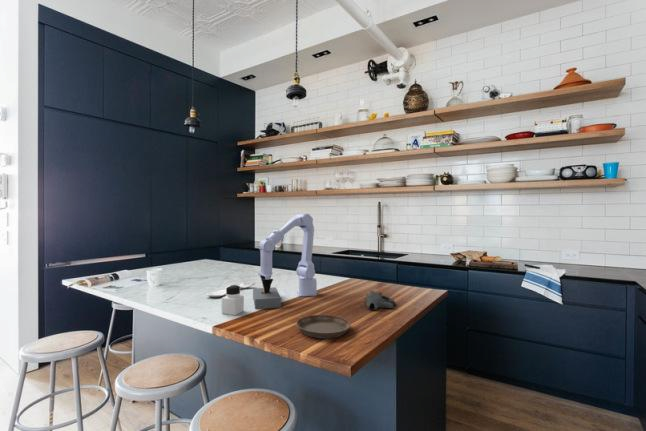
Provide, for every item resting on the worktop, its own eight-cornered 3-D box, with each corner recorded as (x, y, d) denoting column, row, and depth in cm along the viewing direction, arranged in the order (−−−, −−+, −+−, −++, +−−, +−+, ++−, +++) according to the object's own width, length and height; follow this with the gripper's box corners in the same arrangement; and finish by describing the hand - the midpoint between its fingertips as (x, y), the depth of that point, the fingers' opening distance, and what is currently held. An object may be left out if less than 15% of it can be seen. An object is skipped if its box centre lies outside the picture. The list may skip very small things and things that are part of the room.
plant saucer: (347, 322, 141) (347, 314, 141) (353, 341, 121) (353, 332, 121) (297, 322, 141) (297, 314, 141) (295, 341, 120) (295, 332, 120)
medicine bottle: (244, 311, 155) (244, 284, 154) (235, 315, 148) (235, 288, 148) (230, 309, 157) (230, 283, 157) (221, 313, 150) (221, 286, 150)
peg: (269, 300, 172) (269, 283, 172) (269, 302, 169) (269, 284, 169) (263, 301, 171) (263, 283, 171) (263, 302, 168) (263, 284, 168)
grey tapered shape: (362, 299, 157) (395, 305, 153) (368, 286, 181) (396, 291, 178) (361, 310, 157) (394, 316, 154) (367, 295, 181) (395, 301, 178)
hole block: (275, 295, 182) (275, 287, 182) (280, 307, 161) (281, 297, 161) (252, 296, 179) (252, 288, 179) (255, 309, 158) (255, 299, 158)
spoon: (255, 287, 201) (255, 281, 201) (215, 300, 173) (215, 293, 173) (244, 286, 205) (244, 280, 205) (202, 298, 177) (202, 291, 177)
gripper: (257, 262, 176) (257, 288, 176) (259, 266, 162) (259, 295, 162) (271, 261, 177) (271, 287, 178) (274, 266, 163) (273, 294, 164)
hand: (266, 291), depth 170 cm, fingers open, 7 cm apart
